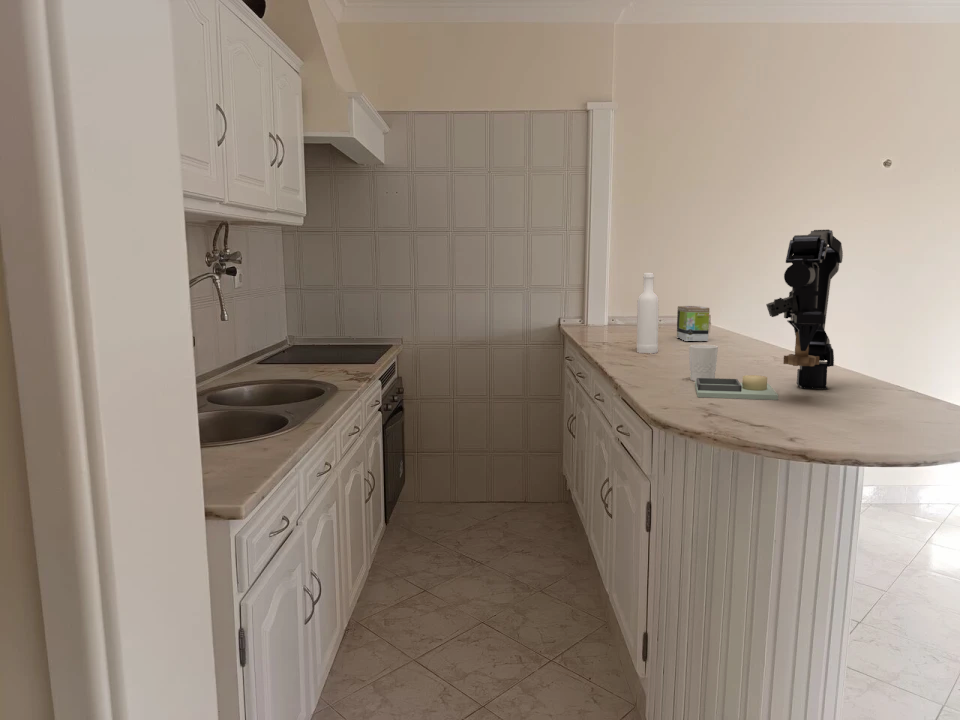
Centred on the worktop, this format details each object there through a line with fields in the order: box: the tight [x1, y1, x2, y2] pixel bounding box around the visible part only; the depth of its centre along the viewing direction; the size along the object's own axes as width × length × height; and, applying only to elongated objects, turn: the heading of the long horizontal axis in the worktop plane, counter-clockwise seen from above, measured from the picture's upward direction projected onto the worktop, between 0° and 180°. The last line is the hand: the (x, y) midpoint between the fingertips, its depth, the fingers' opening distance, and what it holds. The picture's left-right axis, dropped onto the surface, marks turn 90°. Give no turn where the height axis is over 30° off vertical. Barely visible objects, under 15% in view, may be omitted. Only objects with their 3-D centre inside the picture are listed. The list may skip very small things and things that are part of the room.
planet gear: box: [782, 332, 819, 367], centre depth 170 cm, size 8×7×8 cm
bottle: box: [636, 272, 660, 354], centre depth 259 cm, size 8×8×30 cm
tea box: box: [676, 305, 710, 342], centre depth 297 cm, size 15×10×15 cm
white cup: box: [688, 344, 719, 382], centre depth 199 cm, size 8×8×10 cm
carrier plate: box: [694, 374, 779, 401], centre depth 180 cm, size 19×17×4 cm
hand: (801, 350), depth 170 cm, fingers closed on planet gear, 3 cm apart
